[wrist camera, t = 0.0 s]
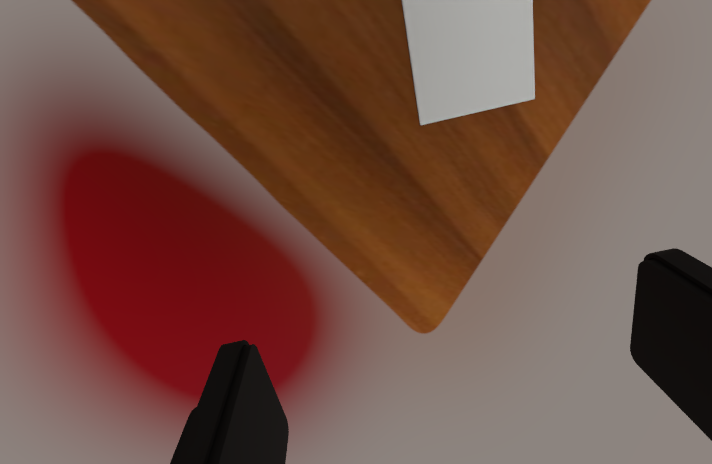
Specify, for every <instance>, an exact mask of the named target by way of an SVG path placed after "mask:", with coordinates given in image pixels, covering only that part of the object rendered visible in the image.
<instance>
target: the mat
mask: <svg viewBox="0 0 712 464" xmlns="http://www.w3.org/2000/svg"><path fill="white" fill-rule="evenodd" d="M402 6H403V13H404V20H405V27H406V34H407V40H408V47H409V54H410V61H411V68H412V75H413V81H414V88H415V95H416V102H417V109H418V116H419V122H420V125H424V124H429V123H433V122H437V121H442V120H446V119H450V118H455V117H459V116H463V115H468V114H472V113H476V112H481V111H485V110H489V109H494V108H498V107H502V106H506V105H511V104H515V103H519V102H524V101H528V100H532V99H535V81H534V40H533V0H402Z"/></svg>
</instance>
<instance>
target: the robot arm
mask: <svg viewBox="0 0 712 464" xmlns="http://www.w3.org/2000/svg"><path fill="white" fill-rule="evenodd" d="M630 351H631V355H632V357H633V359H634V361H635V362H636V364H637V365H638V366H639V367H640V368H641V369H642V370H643V371H644V372H645V373H646V374H647V375H648V376H649V377H650V378H651V379H652V380H653V381H654V382H655V383H656V384H657V385H658V386H659V387H660V388H661V389H662V390H663V391H664V392H665V393H666V394H667V395H668V397H670V398H671V400H672V401H673V402H674V403H675V404H676V405H677V406H679V408H680V409H681V410H682V411H683V412H684V413H685V414H686V415H687V416H688V417H689V418H690V419H691V420H692V421H693V422H694V423H695V424H696V425H697V426H698V427H699V428H700V429H701V430H702V431H703V432H704V433H705V434H706V435H707V436H708V437H709V438H710V440H712V268H711V267H710V266H708V265H706V264H705V263H703V262H701V261H699V260H697V259H696V258H694V257H692V256H690V255H689V254H687V253H685V252H683V251H682V250H679V249H669V250H664V251H659V252H655V253H650V254H648V255H646V257H645V258H644V261H643V262H641V263H640V264H639V266H638V274H637V285H636V294H635V304H634V315H633V324H632V334H631V344H630ZM288 432H289V431H288V423H287V419H286V416H285V414H284V411H283V409H282V406H281V404H280V402H279V399H278V397H277V394H276V392H275V390H274V387H273V385H272V382H271V380H270V378H269V375H268V373H267V371H266V368H265V366H264V363H263V361H262V359H261V356H260V354H259V352H258V349H257V347H256V346H255V345H254V344H252V345H249V344H248V342H247V341H245V340H242V341H237V342H233V343H228V344H223V345H222V346H221V347H220V349H219V351H218V353H217V356H216V359H215V362H214V364H213V367H212V369H211V372H210V374H209V377H208V380H207V382H206V385H205V387H204V390H203V393H202V396H201V398H200V401H199V403H198V406H197V407H196V408H195V409H193V410H192V412H191V413H190V415H189V417H188V420H187V422H186V425H185V427H184V430H183V432H182V435H181V437H180V440H179V443H178V445H177V447H176V450H175V452H174V455H173V458H172V460H171V463H170V464H285V460H286V451H287V443H288Z"/></svg>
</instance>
